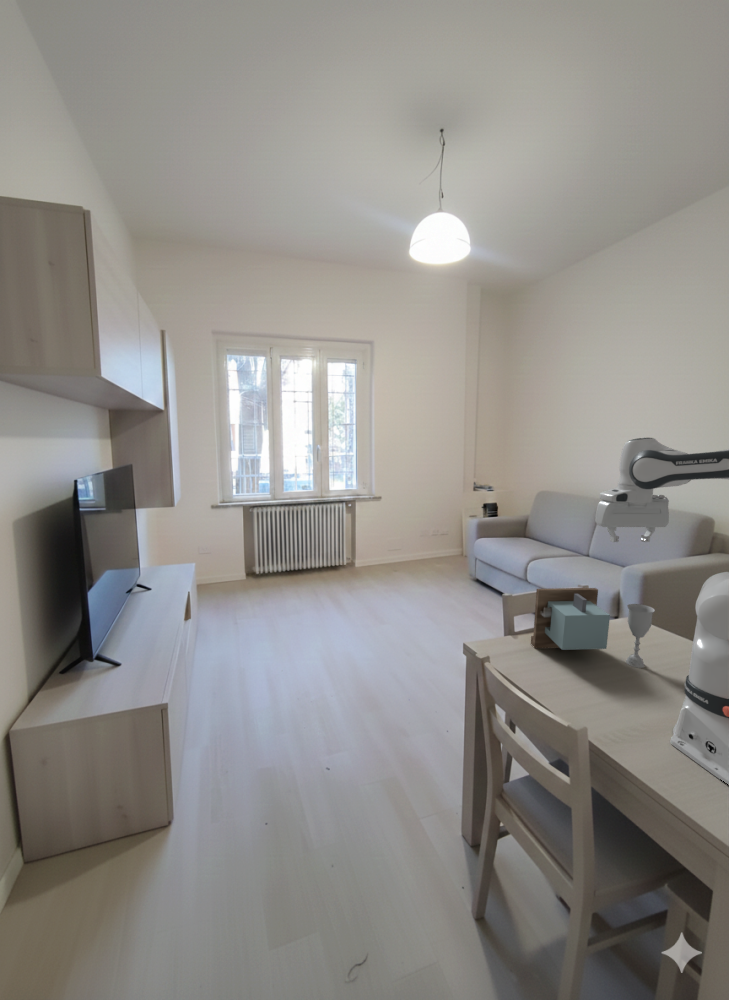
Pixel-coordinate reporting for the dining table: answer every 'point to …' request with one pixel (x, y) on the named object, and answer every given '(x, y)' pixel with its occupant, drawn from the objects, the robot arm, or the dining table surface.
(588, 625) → the cabinet
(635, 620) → the chalice
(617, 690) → the dining table surface
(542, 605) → the wall board
